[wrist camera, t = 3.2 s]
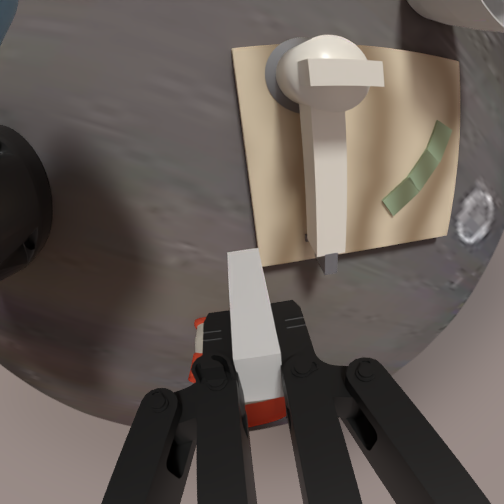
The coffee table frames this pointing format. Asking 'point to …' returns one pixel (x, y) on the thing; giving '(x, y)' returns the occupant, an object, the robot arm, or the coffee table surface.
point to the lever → (326, 130)
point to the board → (354, 152)
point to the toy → (255, 410)
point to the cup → (463, 13)
